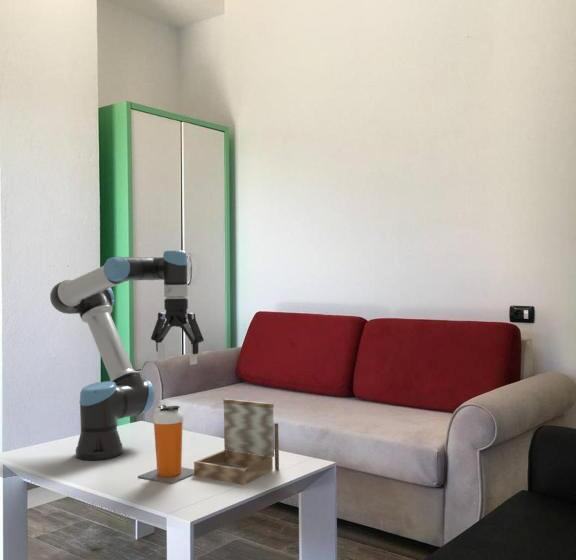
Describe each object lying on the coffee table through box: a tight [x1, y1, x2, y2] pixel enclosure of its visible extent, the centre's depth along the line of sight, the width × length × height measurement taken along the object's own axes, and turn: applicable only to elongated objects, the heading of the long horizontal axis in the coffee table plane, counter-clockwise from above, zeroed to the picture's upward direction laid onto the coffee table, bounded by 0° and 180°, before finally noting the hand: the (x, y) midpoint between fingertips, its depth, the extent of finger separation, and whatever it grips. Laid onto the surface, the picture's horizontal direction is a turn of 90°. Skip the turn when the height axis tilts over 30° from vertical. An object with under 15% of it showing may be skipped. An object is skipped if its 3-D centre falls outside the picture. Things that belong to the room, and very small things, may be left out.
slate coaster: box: [137, 466, 195, 485], centre depth 198 cm, size 13×13×1 cm
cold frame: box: [193, 398, 280, 485], centre depth 199 cm, size 19×17×20 cm
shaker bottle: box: [152, 404, 184, 477], centre depth 198 cm, size 9×9×20 cm
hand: (177, 363), depth 216 cm, fingers open, 13 cm apart
